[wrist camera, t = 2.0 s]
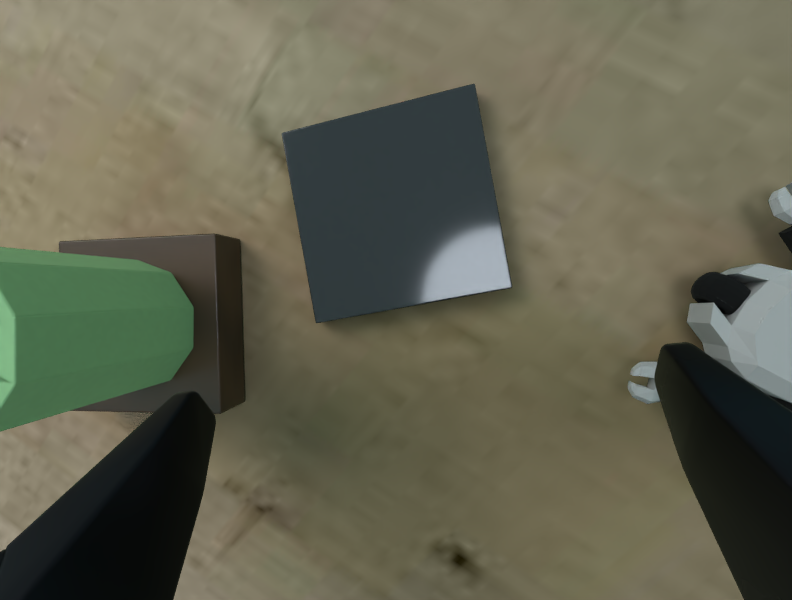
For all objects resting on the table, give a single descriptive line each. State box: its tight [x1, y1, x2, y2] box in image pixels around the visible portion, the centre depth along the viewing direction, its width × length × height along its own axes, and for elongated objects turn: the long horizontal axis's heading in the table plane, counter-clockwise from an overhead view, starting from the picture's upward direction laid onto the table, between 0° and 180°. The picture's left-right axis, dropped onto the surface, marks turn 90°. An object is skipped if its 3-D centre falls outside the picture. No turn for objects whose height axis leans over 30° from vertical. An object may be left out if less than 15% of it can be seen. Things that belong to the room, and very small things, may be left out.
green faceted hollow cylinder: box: [0, 247, 194, 431], centre depth 19 cm, size 6×7×9 cm
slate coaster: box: [282, 84, 512, 323], centre depth 23 cm, size 10×10×1 cm
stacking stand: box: [59, 234, 245, 414], centre depth 22 cm, size 9×9×7 cm
